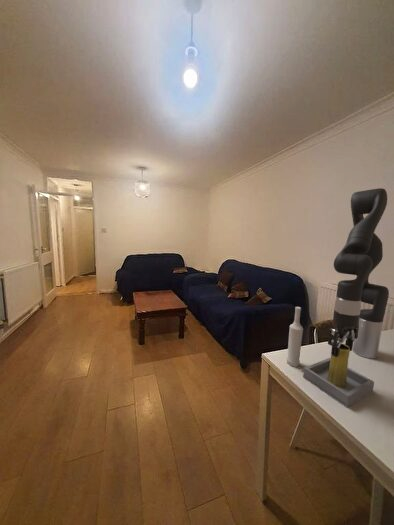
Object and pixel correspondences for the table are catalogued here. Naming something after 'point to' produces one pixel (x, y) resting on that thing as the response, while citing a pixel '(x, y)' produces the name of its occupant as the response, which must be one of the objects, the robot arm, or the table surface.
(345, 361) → the vase
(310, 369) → the bin
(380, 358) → the table surface
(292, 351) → the bottle
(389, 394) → the table surface
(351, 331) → the robot arm
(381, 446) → the table surface
